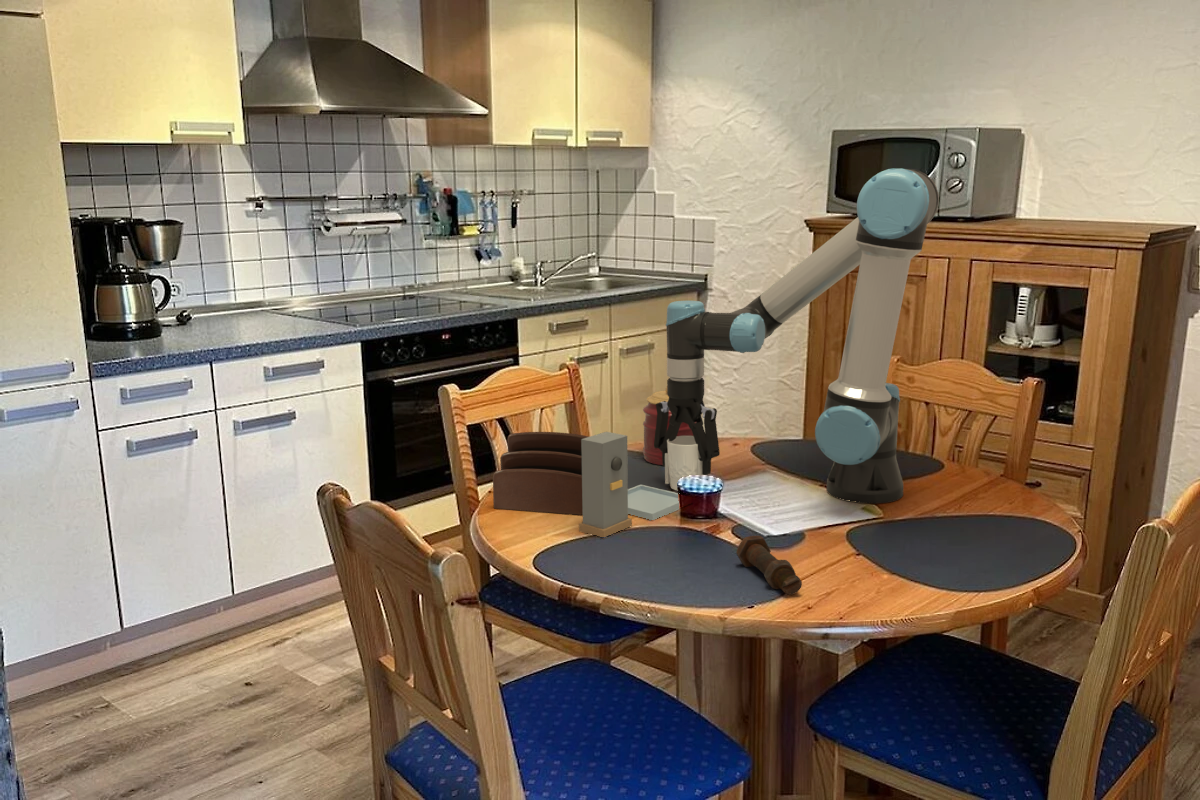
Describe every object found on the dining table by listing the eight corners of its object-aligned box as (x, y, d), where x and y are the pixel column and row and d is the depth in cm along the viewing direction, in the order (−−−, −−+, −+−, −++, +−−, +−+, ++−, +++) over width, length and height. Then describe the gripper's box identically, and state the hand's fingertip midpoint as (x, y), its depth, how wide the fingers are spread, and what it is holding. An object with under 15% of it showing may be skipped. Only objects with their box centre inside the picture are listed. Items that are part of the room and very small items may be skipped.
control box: (632, 526, 185) (631, 435, 182) (604, 538, 180) (603, 444, 176) (607, 519, 189) (606, 430, 186) (579, 531, 183) (577, 439, 180)
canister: (662, 448, 239) (662, 376, 235) (709, 456, 231) (710, 382, 228) (632, 461, 229) (631, 385, 225) (680, 470, 221) (681, 392, 217)
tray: (692, 503, 198) (692, 496, 198) (652, 520, 188) (652, 513, 188) (640, 490, 207) (640, 484, 206) (599, 507, 197) (599, 500, 197)
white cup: (665, 492, 204) (665, 444, 202) (669, 481, 211) (668, 435, 209) (704, 493, 202) (704, 445, 200) (706, 481, 210) (706, 435, 208)
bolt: (788, 609, 154) (746, 571, 168) (814, 591, 154) (770, 554, 168) (772, 581, 152) (731, 545, 166) (799, 563, 152) (755, 528, 166)
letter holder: (510, 494, 206) (508, 428, 203) (603, 501, 201) (602, 433, 198) (492, 509, 197) (490, 440, 194) (589, 517, 192) (588, 446, 188)
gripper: (738, 379, 198) (738, 489, 203) (656, 369, 211) (658, 473, 216) (717, 386, 193) (717, 499, 198) (634, 375, 206) (636, 481, 211)
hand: (686, 485), depth 207 cm, fingers closed on white cup, 7 cm apart
